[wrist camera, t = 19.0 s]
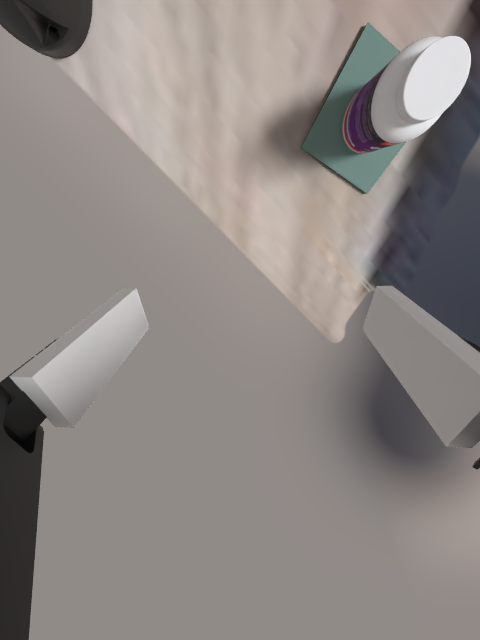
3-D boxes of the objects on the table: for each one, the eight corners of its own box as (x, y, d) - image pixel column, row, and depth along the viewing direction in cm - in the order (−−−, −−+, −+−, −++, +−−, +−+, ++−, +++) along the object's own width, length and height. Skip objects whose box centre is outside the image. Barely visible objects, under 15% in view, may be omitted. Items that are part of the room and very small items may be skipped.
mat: (300, 147, 35) (301, 146, 34) (366, 25, 28) (368, 22, 27) (365, 193, 37) (367, 193, 37) (440, 93, 30) (443, 91, 30)
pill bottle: (350, 166, 35) (398, 157, 23) (332, 111, 32) (377, 67, 20) (404, 129, 32) (491, 96, 20) (390, 65, 29) (485, -20, 17)
